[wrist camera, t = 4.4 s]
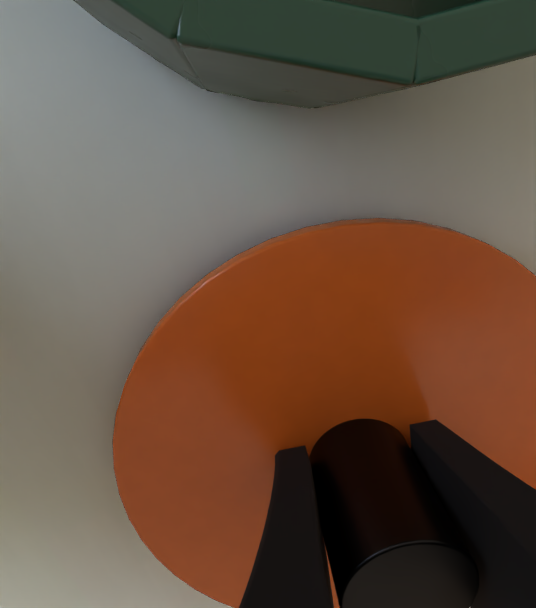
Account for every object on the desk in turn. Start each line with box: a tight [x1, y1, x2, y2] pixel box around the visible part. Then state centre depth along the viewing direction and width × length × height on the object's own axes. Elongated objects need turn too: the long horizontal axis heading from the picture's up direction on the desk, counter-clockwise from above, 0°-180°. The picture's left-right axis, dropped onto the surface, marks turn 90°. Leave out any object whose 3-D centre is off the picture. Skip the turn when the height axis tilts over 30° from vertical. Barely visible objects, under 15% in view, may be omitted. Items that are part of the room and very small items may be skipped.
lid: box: [113, 218, 536, 608], centre depth 10 cm, size 11×11×4 cm
